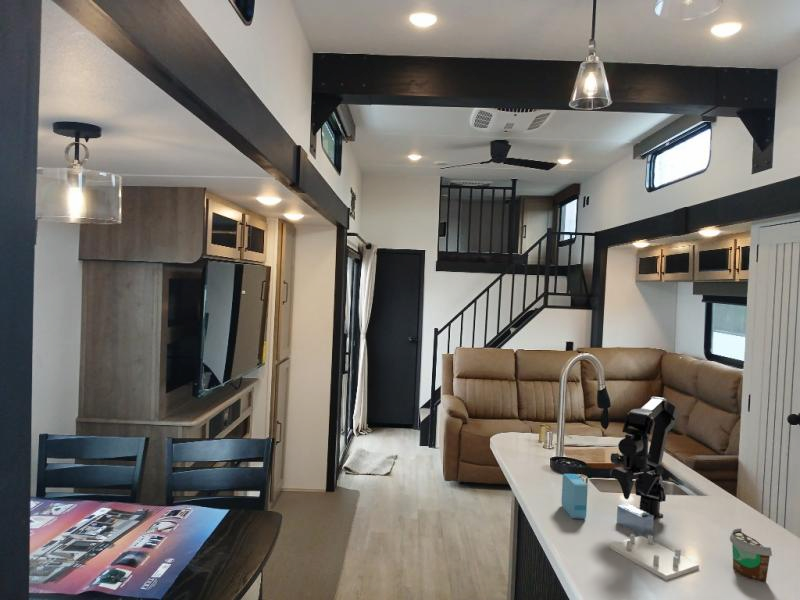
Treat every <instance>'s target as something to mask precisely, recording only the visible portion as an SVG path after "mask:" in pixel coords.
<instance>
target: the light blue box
mask: <svg viewBox="0 0 800 600" xmlns="http://www.w3.org/2000/svg"><path fill="white" fill-rule="evenodd" d="M587 485H588V484H587V483H586V482H585V481H583V479H582V478H581V477H580V476H579V475H577V474H576V473H563V474H562V484H561V487H562V488H561V506H562V508H563V510H564V511H566V513H567V514H568V515H569V516H570V518H571V519H579V520H581V519H586V518H587V508H588V507H587V505H588V486H587Z"/></svg>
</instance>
